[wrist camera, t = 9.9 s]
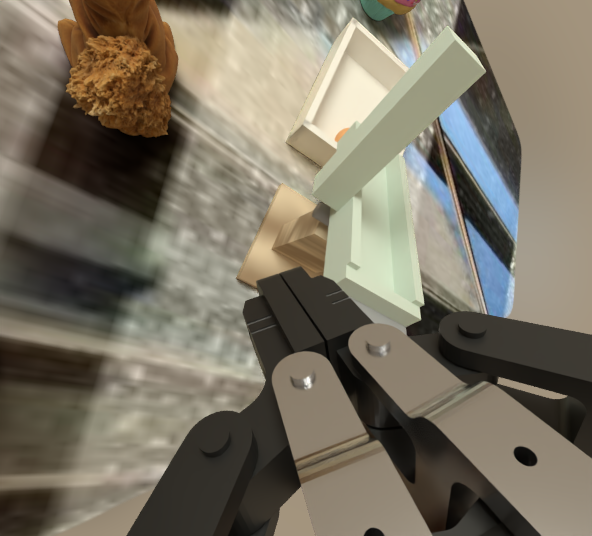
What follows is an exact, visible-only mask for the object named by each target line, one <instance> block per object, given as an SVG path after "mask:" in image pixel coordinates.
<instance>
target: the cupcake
mask: <svg viewBox="0 0 592 536" xmlns="http://www.w3.org/2000/svg"><path fill="white" fill-rule="evenodd" d="M420 1H421V0H361V4H362V7H363V9H364V11H365V12H366V14H367V15H368V16H369V17H371V18H372V19H374V20H377V21H381V20H383V19H385V18H387V17H388V16H390V15H392V14H394V13H395V14H398V15H402V14H406V13H407V12H409V11H411V10H412V9H413V8H414V7H415V6H416V5H417V3H419V2H420Z"/></svg>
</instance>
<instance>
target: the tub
mask: <svg viewBox="0 0 592 536" xmlns="http://www.w3.org/2000/svg"><path fill="white" fill-rule="evenodd" d="M408 70H409V68H408V67H407V66H405V65H404V64H403V63H402V62H401V61H400V60H399V59H398V58H397V57H396V56H395V55H394V54H393V53H391V52H390V51H389V50H388V49H387V48H386V47H385V46H384V45H383V44H382V43H381V42H380V41H379V40H377V39H376V38H375V37H374V36H373V35H372V34H371V33H370V32H369V31H368V30H367V29H366V28H365V27H363V26H362V25H361V24H360V23H359V22H358V21H357V20H356V19H355V18H354V17H353V18H352V19H351V20H350V22H349V23H348V24H347V26H346V27H345V28H344V30H343V31H342V32H341V33H340V35H339V36H338V37H337V39H336V40H335V41H334V43H333V45H332V47H331V49H330V51H329V53H328V55H327V57H326V59H325V61H324V63H323V65H322V68H321V70H320V72H319V74H318V76H317V78H316V80H315V82H314V84H313V86H312V88H311V90H310V93H309V95H308V97H307V99H306V101H305V103H304V105H303V107H302V109H301V111H300V113H299V116H298V118H297V120H296V122H295V124H294V126H293V128H292V130H291V132H290V134H289V136H288V138H287V141H286V143H288V144H289V145H291V146H292V147H294V148H295V149H296V150H298V151H299V152H301V153H302V154H304V155H305V156H307V157H308V158H309V159H311V160H312V161H314V162H315V163H317V164H318V165H320V166H321V167H322V168H323V166H324V165H325V164H326V163H327V162H328V161H329V160H330V159H331V157H332V156H333V155H334V154H335V153H336V151H337V142H336V141H335V137H336V135H337V134H338V133H339V132H340V131H341V130H342V129H345V128H350V127H351V126H352V125H353V124H354V122H355V121H356V120H357V121H358V122H359V123H360V124H361V123H362V122H363V121H364V120H365V119H366V118H367V116H368V115H369V114H370V113H371V112H372V111H373V110H374V109H375V107H376V106H377V105H378V104H379V103H380V102H381V101H382V99H383V98H384V97H385V96H386V95H387V94H388V93H389V91H390V90H391V89H392V88H393V87H394V86H395V85H396V83H397V82H398V81H399V80H400V79H401V78H402V77H403V76H404V74H405V73H406V72H407V71H408ZM404 150H405V148H404V149H403V150H402V151H401V152H400V153H399V154H400V155H401V156H403V153H404Z"/></svg>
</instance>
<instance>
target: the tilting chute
mask: <svg viewBox="0 0 592 536" xmlns="http://www.w3.org/2000/svg"><path fill="white" fill-rule="evenodd" d="M485 72H486V71H485V69H484V67H483V66H482V64H481V63H480V61H479V59H478V58H477V56H476V55H475V54H474V53H473V52H472V51H471V50H470V48H469V47H468V46H467V45H466V44H465V43H464V42H463V41H462V40H461V39H460V38H459V37H458V36H457V35H456V34H455V33H454V32H453V31H452V30H451V28H450V27H449V26H448V25H447V27H446V28H445V29H444V30H443V31H442V32H441V33H440V35H439V36H438V37H437V38H436V39H435V40H434V41H433V43H432V44H431V45H430V46H429V47H428V48H427V49H426V51H425V52H424V53H423V54H422V55H421V56H420V57H419V58H418V60H417V61H416V62H415V63H414V64H413V65H412V66H411V68H410V69H409V70H408V71H407V72H406V73H405V74H404V76H403V77H402V78H401V79H400V80H399V81H398V82H397V83H396V85H395V86H394V87H393V88H392V89H391V90H390V91H389V93H388V94H387V95H386V96H385V97H384V98H383V99H382V101H381V102H380V103H379V104H378V105H377V106H376V107H375V109H374V110H373V111H372V112H371V113H370V114H369V115H368V116H367V118H366V119H365V120H364V121H363V122H362V123H361V124H360V123H359V122H358V121H357V120H356V121H355V122H354V124H353V125H352V126H351V127H350V128H349V129H348V130H347V132H346V133H345V134H344V135H343V136H342V137H341V139H340V140H339V141H338V142H337V151H336V153H335V154H334V155H333V156H332V157H331V159H330V160H329V161H328V162H327V163H326V164H325V165H324V166H323V168H322V169H321V170H320V171H319V172H318V173H317V174H316V176H315V180H314V186H313V191H312V195H313V196H314V197H316V198H317V199H319V200H321V201H322V202H320V203H318V204H317V206H316V207H315V209H314V211H313V213H312V217H314V218H315V219H317V220H318V221H320V222H322V223H323V224H325V225H326V226H328V236H327V246H326V255H325V264H324V274H323V276H324V277H326V278H329V279H331V280H334V281H335V283H336V284H337V285H338V286H339V287H340V288H341V289H342V291H344V292H345V293H346V294H347V295H348V296H349V298H351V299H352V300H353V301H354V302H355V304H356V305H357V306H358V307H359V308H360V309H361V310H362V311H363V312H364V313H365V314H366V315H367V316H368V317H369V318H370V319H371V320H372V321H373V322H374V323H381V324H387V325H391V326H394V327H396V328H398V329H399V330H400V331H402V332H403V333H404V334H405V335H406V327H407V326H409V325H411V324H413V323H415V322H417V321H419V320H421V315H420V307H421V306H423V305H424V299H423V292H422V284H421V277H420V270H419V262H418V255H417V248H416V240H415V233H414V226H413V218H412V211H411V204H410V197H409V189H408V182H407V175H406V167H405V160H404V158H403V157H402V156H401V155H400V154H399V153H400V152H401V151H402V150H403V149H404V148H405V147H406V146H408V145H409V144H410V143H411V142H412V141H413V140H414V139H415V138H416V137H417V136H418V135H419V134H420V133H421V132H422V131H423V130H425V129H426V128H427V127H428V126H429V125H430V124H431V123H432V122H433V121H434V120H435V119H436V118H437V117H438V116H439V115H440V114H442V113H443V112H444V111H445V110H446V109H447V108H448V107H449V106H450V105H451V104H452V103H453V102H454V101H455V100H456V99H458V98H459V97H460V96H461V95H462V94H463V93H464V92H465V91H466V90H467V89H468V88H469V87H470V86H471V85H472V84H473V83H475V82H476V81H477V80H478V79H479V78H480V77H481V76H482V75H483V74H484V73H485ZM323 202H324V203H325V204H324V203H323ZM326 204H327V205H328V206H327V205H326ZM329 206H330V207H331V208H330V207H329Z"/></svg>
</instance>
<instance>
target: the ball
mask: <svg viewBox="0 0 592 536" xmlns="http://www.w3.org/2000/svg"><path fill="white" fill-rule="evenodd" d="M348 129H349V128H345V129H342V130H341V131H340V132H339V133H338V134H337V135H336V137H335V141H336V142H338V141H339V140H340V139H341V137H342V136H343V135H344V134H345V133H346V132H347V130H348Z"/></svg>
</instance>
